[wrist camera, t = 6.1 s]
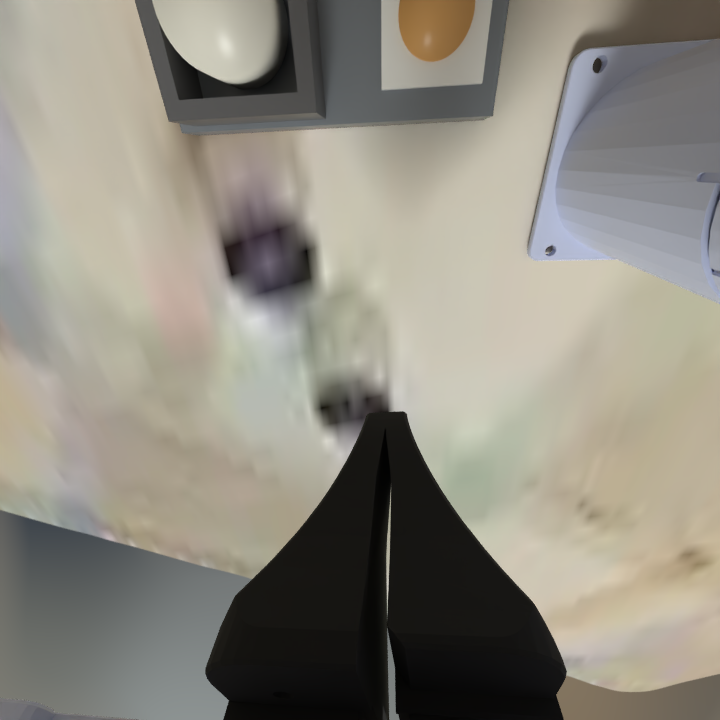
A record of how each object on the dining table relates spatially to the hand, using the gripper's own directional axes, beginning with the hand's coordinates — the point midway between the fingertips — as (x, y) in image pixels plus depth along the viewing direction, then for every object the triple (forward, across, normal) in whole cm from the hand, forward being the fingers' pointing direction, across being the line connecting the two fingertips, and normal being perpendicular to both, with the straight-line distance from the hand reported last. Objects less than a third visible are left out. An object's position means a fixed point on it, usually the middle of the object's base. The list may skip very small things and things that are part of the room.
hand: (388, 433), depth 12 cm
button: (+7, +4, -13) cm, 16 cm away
